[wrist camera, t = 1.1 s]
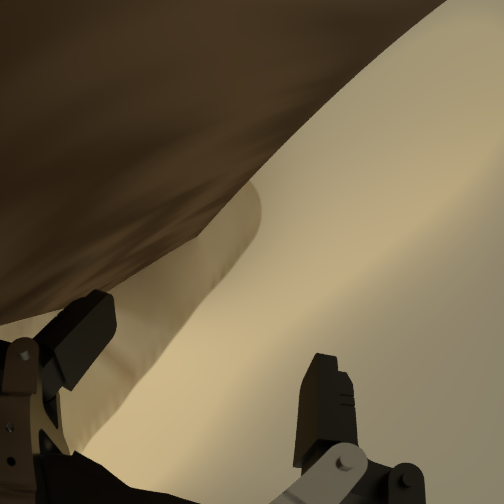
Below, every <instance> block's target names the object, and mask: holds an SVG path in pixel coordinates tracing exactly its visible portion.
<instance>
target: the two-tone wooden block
mask: <svg viewBox="0 0 504 504" xmlns="http://www.w3.org/2000/svg"><path fill="white" fill-rule="evenodd" d="M445 1H446V0H0V325H4V324H8V323H11V322H15V321H19V320H22V319H26V318H30V317H33V316H37V315H41V314H44V313H48V312H52V311H55V310H59V309H62V308H65V307H66V306H67V305H68V304H70V303H71V302H72V301H74V300H76V299H78V298H81V297H84V298H85V297H86V296H87V295H88V294H89V293H90V292H91V291H92V290H94V289H98V290H101V291H103V292H107V291H108V290H110V289H112V288H113V287H115V286H116V285H118V284H119V283H121V282H122V281H124V280H126V279H127V278H129V277H130V276H132V275H134V274H135V273H137V272H138V271H140V270H142V269H143V268H145V267H146V266H148V265H150V264H151V263H153V262H154V261H156V260H158V259H159V258H161V257H163V256H164V255H166V254H168V253H169V252H171V251H173V250H174V249H176V248H177V247H179V246H181V245H183V244H184V243H186V242H188V241H189V240H191V239H193V238H194V237H196V236H198V235H199V234H200V233H201V231H202V230H203V229H204V228H205V227H206V226H207V225H208V224H209V223H210V221H211V220H212V219H213V218H214V217H215V216H216V215H217V214H218V213H219V212H220V210H221V209H222V208H223V207H224V206H225V205H226V204H227V203H228V202H229V201H230V200H231V198H232V197H233V196H234V195H235V194H236V193H237V192H238V191H239V190H240V189H241V188H242V187H243V186H244V185H245V184H246V182H247V181H248V180H249V179H250V178H251V177H252V176H253V175H254V174H255V173H256V172H257V171H258V170H259V169H260V168H261V167H262V166H263V165H264V163H266V162H267V161H268V160H269V158H271V156H273V154H274V153H275V152H276V151H277V150H278V149H279V148H280V147H281V146H282V145H283V144H284V143H285V142H286V141H287V140H288V139H289V138H290V137H291V136H292V135H293V134H294V133H295V132H296V131H297V130H298V129H299V128H300V127H302V126H303V125H304V124H305V123H306V122H307V121H308V120H309V118H311V117H312V116H313V115H314V114H315V113H316V112H317V111H318V110H319V109H320V108H321V107H322V106H323V105H324V104H325V103H326V102H328V101H329V100H330V99H331V97H333V96H334V95H335V94H336V93H337V92H338V91H339V90H340V89H341V88H343V87H344V86H345V85H346V84H347V83H348V82H349V81H350V80H351V79H352V78H354V77H355V76H356V75H357V74H358V73H359V72H360V71H361V70H362V69H363V68H364V67H366V66H367V65H368V64H369V63H370V62H371V61H373V60H374V59H375V58H376V57H377V56H378V55H379V54H380V53H382V52H383V51H384V50H385V49H386V48H388V47H389V46H390V45H391V44H392V43H394V42H395V41H396V40H397V39H398V38H400V37H401V36H402V35H403V34H404V33H406V32H407V31H408V30H409V29H410V28H412V27H413V26H414V25H415V24H417V23H418V22H419V21H420V20H422V19H423V18H424V17H425V16H427V15H428V14H429V13H431V12H432V11H433V10H434V9H436V8H437V7H438V6H440V5H441V4H442V3H444V2H445Z"/></svg>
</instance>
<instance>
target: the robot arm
mask: <svg viewBox="0 0 504 504" xmlns="http://www.w3.org/2000/svg"><path fill="white" fill-rule="evenodd" d="M116 327H117V322H116V315H115V306H114V298H113V296H112V295H111V294H109V293H106V292H103V291H101V290H98V289H94V290H92V291H91V292H90V293H89V294H88V295H87V296H86V297H85V298H84V297H81V298H78V299H76V300H74V301H72V302H71V303H70V304H68V305H67V306H66V307H65V308H64V310H63V311H61V312H60V313H59V314H58V315H57V317H55V318H53V319H52V320H51V321H50V322H49V323H48V324H47V325H46V326H45V327H44V328H43V329H42V330H41V331H40V332H39V333H38V334H37V335H36V336H35V337H34V338H33V339H31V338H28V337H22V338H19V339H16V340H15V341H13V342H12V343H10V342H7V341H3V340H0V504H199V503H196V502H192V501H189V500H186V499H182V498H179V497H176V496H173V495H170V494H166V493H160V492H153V491H147V490H141V489H135V488H131V487H129V486H127V485H126V484H125V483H123V482H122V481H121V480H119V479H118V478H117V477H116V476H114V475H113V474H112V473H110V472H109V471H108V470H107V469H105V468H104V467H103V466H102V465H100V464H98V463H96V462H94V461H92V460H91V459H89V458H87V457H85V456H83V455H82V454H80V453H78V452H77V451H74V453H73V454H72V456H71V455H70V453H69V449H68V446H67V443H66V441H65V438H64V435H63V429H62V420H61V409H60V395H59V389H60V388H61V387H62V386H63V387H64V388H66V389H68V390H69V391H72V390H73V388H74V387H75V386H76V384H77V383H78V382H79V380H80V379H81V378H82V376H83V375H84V374H85V372H86V371H87V370H88V369H89V367H90V366H91V365H92V363H93V362H94V361H95V359H96V358H97V357H98V356H99V354H100V353H101V352H102V351H103V349H104V348H105V347H106V345H107V344H108V343H109V342H110V340H111V339H112V338H113V336H114V334H115V332H116ZM353 397H354V390H353V384H352V381H351V380H350V378H349V376H348V375H347V373H346V372H341V371H338V364H337V357H336V356H330V355H325V354H320V353H316V354H315V356H314V358H313V360H312V362H311V364H310V366H309V368H308V370H307V372H306V374H305V376H304V378H303V381H302V384H301V388H300V395H299V407H298V419H297V431H296V441H295V451H294V460H293V467H296V468H302V471H301V477H300V478H299V479H298V480H297V481H296V482H295V483H293V484H292V485H291V486H290V487H289V488H288V489H287V490H286V491H284V492H283V493H282V494H281V495H279V496H278V497H277V498H276V499H275V500H273V501H272V502H271V503H269V504H426V498H425V483H424V476H423V473H422V471H421V470H420V469H419V468H418V467H417V466H416V465H414V464H411V463H401V464H398V465H397V466H395V467H394V468H391V467H387V466H384V465H381V464H378V463H375V462H373V461H371V460H369V459H367V457H366V455H365V453H364V452H363V450H362V449H361V448H359V446H358V439H357V424H356V412H355V407H354V406H355V401H354V398H353Z"/></svg>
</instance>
